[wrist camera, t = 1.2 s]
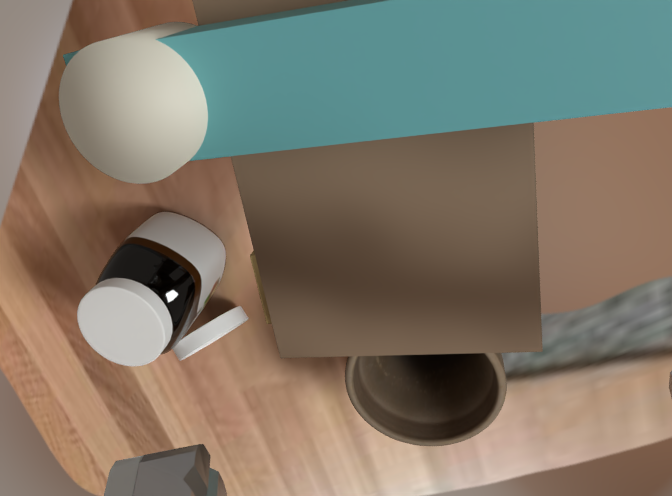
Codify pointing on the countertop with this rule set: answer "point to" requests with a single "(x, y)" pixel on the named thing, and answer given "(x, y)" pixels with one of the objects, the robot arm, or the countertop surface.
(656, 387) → the countertop surface
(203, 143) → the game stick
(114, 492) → the robot arm
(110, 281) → the spread jar
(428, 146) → the walnut shelf
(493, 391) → the flower pot
